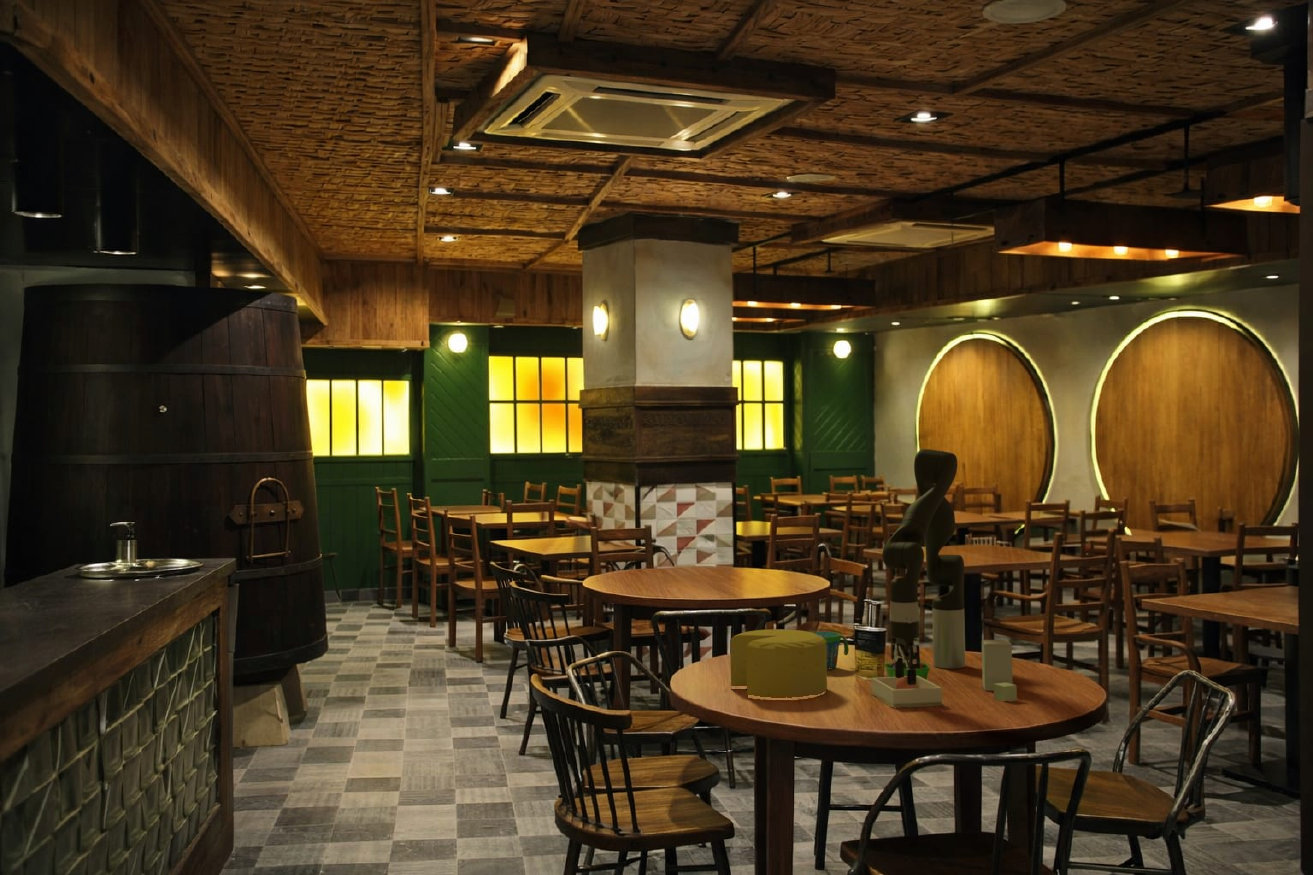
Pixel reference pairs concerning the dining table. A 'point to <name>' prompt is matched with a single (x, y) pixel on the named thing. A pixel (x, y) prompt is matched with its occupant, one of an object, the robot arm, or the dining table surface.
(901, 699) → the bin
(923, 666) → the fruit basket
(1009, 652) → the supplement box
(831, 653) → the snack cup
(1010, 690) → the green block
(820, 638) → the cheese
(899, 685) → the ball
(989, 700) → the dining table surface
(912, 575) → the robot arm
